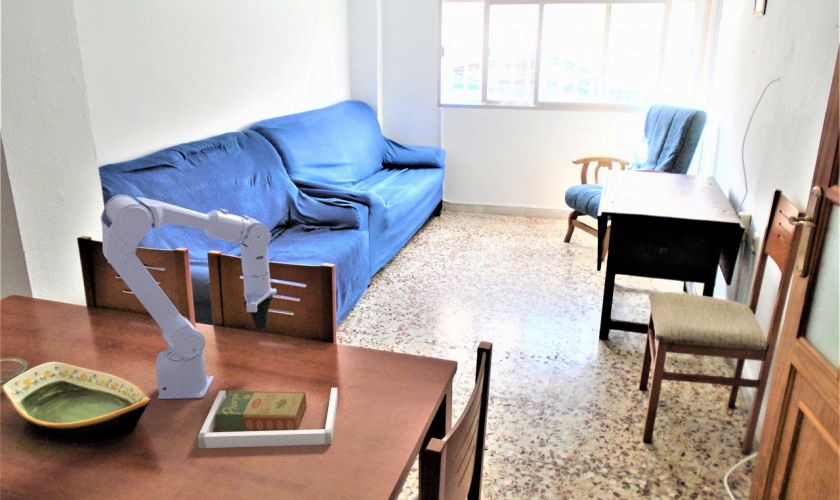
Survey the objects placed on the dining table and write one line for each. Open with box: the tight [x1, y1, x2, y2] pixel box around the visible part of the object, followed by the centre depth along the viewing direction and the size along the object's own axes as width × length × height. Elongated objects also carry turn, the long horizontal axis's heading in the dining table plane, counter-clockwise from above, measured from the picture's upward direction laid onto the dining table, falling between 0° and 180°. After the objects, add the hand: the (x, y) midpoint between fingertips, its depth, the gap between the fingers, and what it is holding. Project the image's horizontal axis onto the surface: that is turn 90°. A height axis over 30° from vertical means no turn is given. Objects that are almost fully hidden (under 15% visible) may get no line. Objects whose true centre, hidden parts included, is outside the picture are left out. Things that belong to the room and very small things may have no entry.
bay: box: [197, 387, 339, 449], centre depth 116 cm, size 24×15×2 cm, turn 93°
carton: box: [215, 390, 308, 432], centre depth 117 cm, size 8×16×4 cm, turn 88°
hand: (261, 327), depth 134 cm, fingers closed
